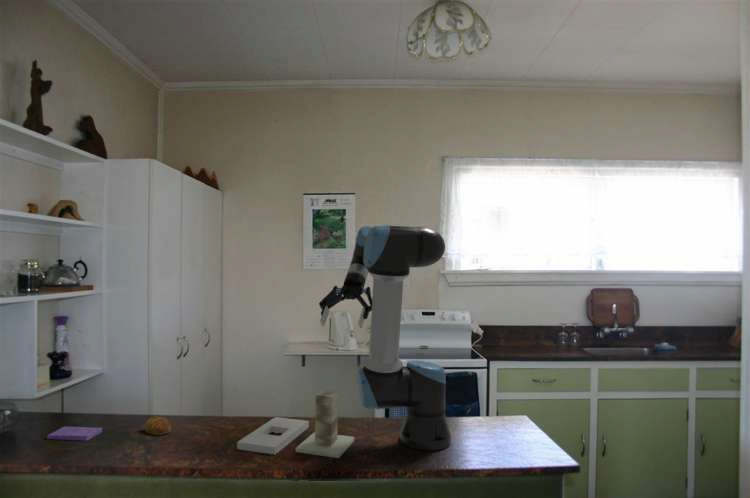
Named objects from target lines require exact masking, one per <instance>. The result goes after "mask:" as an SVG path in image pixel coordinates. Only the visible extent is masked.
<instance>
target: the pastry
mask: <svg viewBox="0 0 750 498" xmlns="http://www.w3.org/2000/svg"><path fill="white" fill-rule="evenodd" d="M170 422H171V421H169V420H168V418H166V417H164V416H163V417H161V416H156V415H155V416H152V417H151V418H148V419H147V420H146V422H145V423H144V426H143V428H144V432H146V433H147V434H150V435H153V436H162V435H165V434H168V433H170V432H171V430H172V424H171V423H170Z"/></svg>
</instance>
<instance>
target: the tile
mask: <svg viewBox="0 0 750 498" xmlns="http://www.w3.org/2000/svg"><path fill="white" fill-rule="evenodd" d="M354 441H355V436H349V435H343V434H337V441H336V442H335V443H334V444H333V445H332V446H331V447H329V446H322V445H315V431H314V432H312V433H311V434H310V435H309V436H308V437H307V438H305V439H304V441H302V442H301V443H299V444H298V446H296V447H295V452H296V453H301V454H308V455H315V456H320V457H321V456H323V457H329V458H335V459H339V458H340V457H341V456H342V455H343V454H344V453H345V452H346V450H347V449H348V448H349V447H350V446H351V445H352V443H354Z"/></svg>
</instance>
